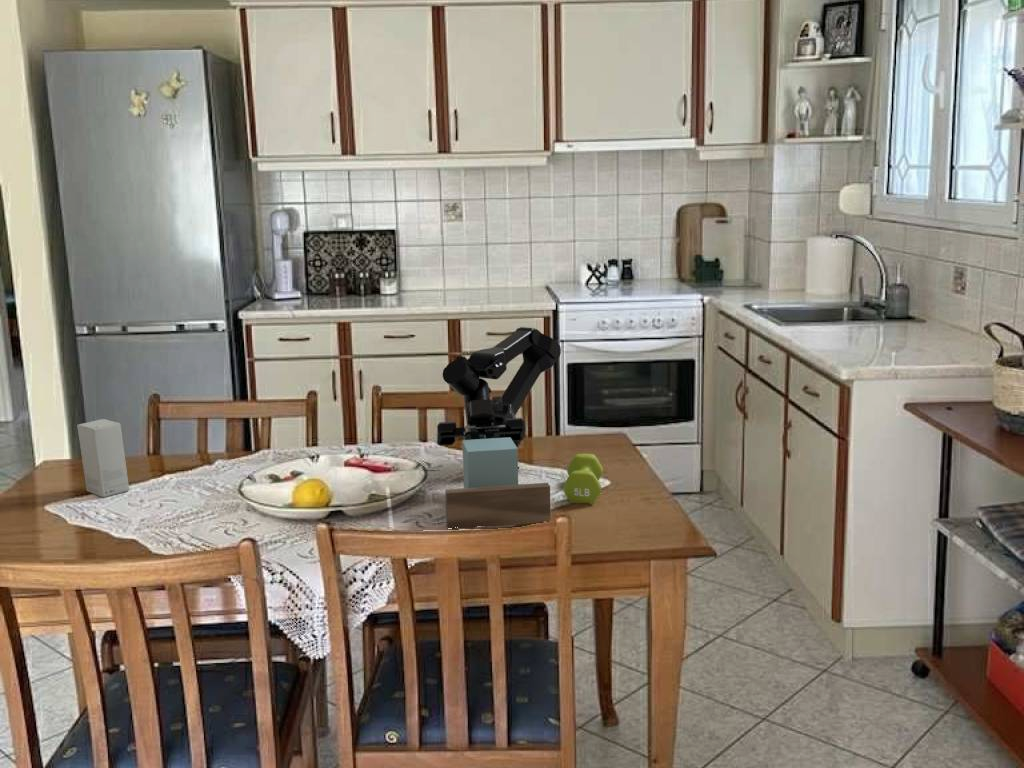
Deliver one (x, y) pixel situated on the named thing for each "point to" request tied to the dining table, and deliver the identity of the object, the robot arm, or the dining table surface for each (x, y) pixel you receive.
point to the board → (498, 505)
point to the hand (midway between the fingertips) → (484, 466)
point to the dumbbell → (583, 479)
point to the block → (490, 462)
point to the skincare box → (103, 457)
